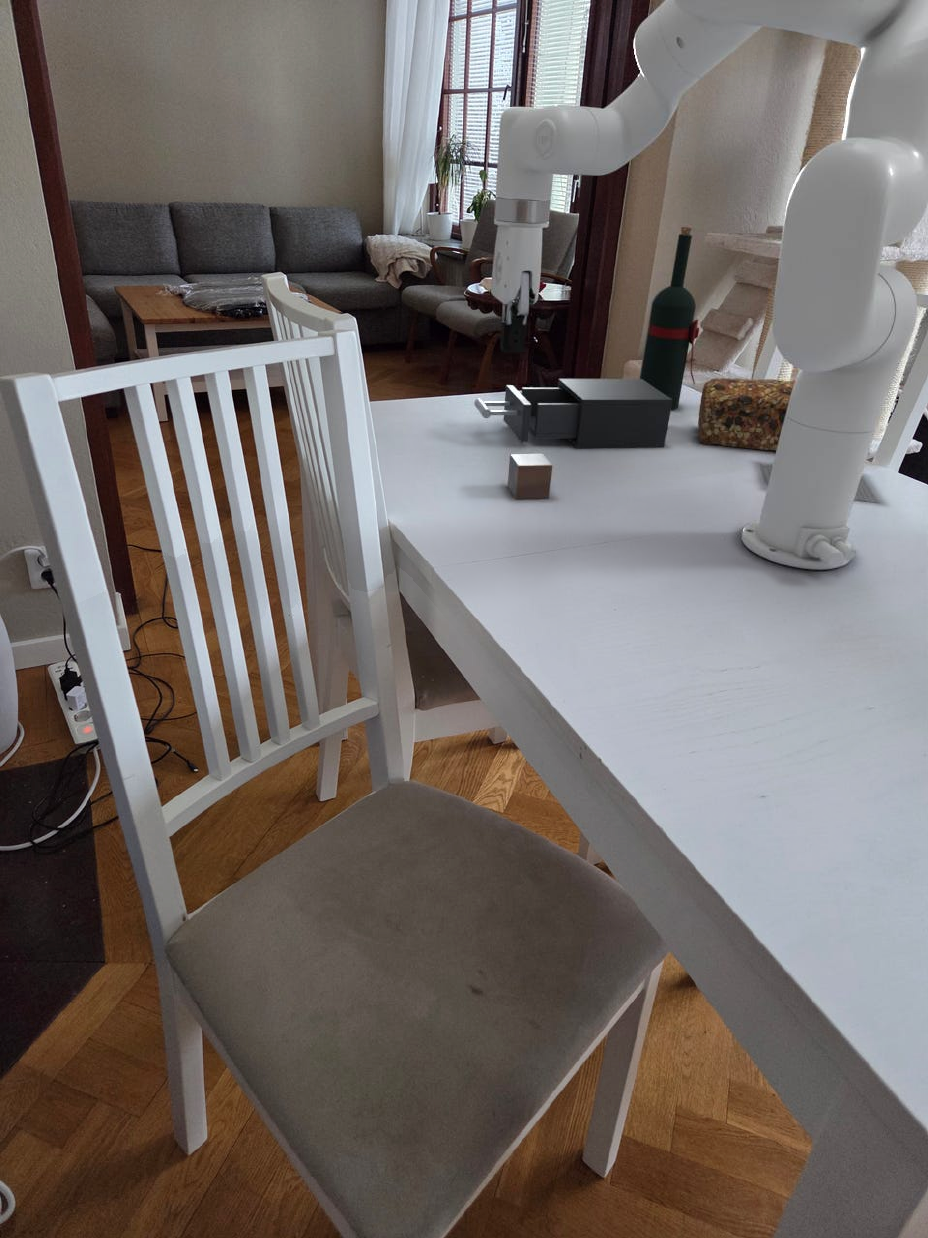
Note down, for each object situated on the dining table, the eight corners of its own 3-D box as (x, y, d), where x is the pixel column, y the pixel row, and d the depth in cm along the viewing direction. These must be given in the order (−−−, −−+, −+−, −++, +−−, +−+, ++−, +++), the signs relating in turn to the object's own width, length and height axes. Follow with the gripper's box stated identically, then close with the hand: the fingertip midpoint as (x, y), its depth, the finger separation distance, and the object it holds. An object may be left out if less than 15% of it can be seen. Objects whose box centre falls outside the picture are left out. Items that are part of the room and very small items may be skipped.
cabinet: (576, 448, 128) (582, 399, 124) (553, 424, 139) (558, 378, 135) (664, 447, 131) (672, 399, 127) (634, 423, 142) (642, 378, 138)
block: (549, 498, 109) (552, 465, 107) (515, 499, 108) (518, 465, 106) (539, 485, 113) (543, 453, 111) (507, 486, 112) (509, 453, 110)
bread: (807, 438, 139) (823, 378, 134) (816, 458, 130) (833, 395, 125) (694, 425, 142) (706, 367, 137) (695, 444, 133) (708, 382, 128)
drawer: (484, 442, 125) (487, 404, 123) (469, 420, 135) (471, 384, 132) (603, 441, 129) (608, 404, 126) (580, 419, 139) (585, 385, 136)
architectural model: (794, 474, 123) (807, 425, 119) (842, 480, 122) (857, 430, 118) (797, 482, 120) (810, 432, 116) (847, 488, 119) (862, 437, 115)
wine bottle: (688, 414, 148) (723, 231, 133) (632, 407, 151) (660, 226, 136) (692, 404, 155) (726, 228, 140) (638, 397, 157) (665, 223, 142)
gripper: (483, 208, 118) (476, 340, 127) (508, 216, 105) (498, 363, 114) (534, 210, 119) (523, 341, 129) (564, 219, 107) (550, 363, 116)
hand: (511, 351), depth 121 cm, fingers closed
